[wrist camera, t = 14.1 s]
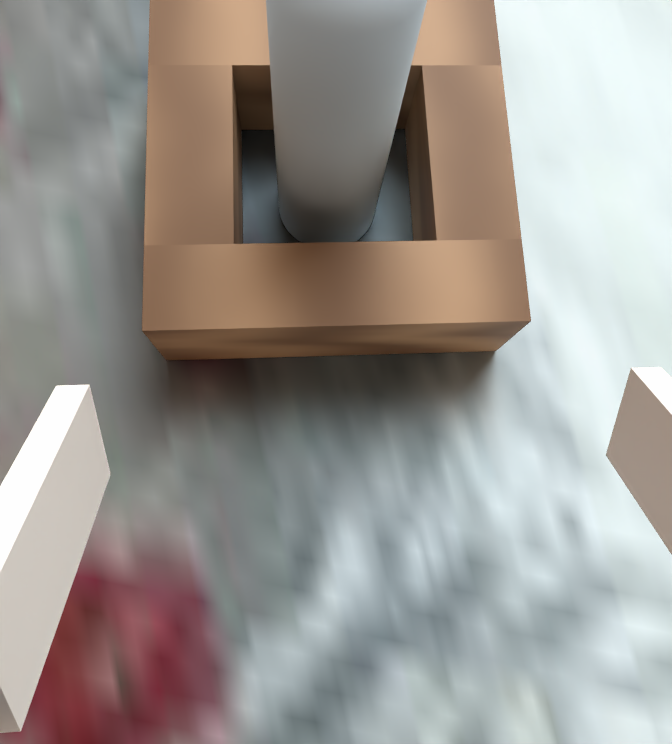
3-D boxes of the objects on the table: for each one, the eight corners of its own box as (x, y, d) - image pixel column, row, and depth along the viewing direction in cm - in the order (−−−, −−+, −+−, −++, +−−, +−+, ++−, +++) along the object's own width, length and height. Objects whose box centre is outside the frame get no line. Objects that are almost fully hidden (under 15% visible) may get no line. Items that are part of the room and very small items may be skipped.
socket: (466, 68, 29) (493, -3, 25) (495, 351, 26) (530, 320, 22) (170, 68, 28) (149, -6, 24) (166, 360, 25) (141, 330, 21)
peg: (392, 193, 27) (463, -54, 15) (341, 267, 26) (376, 65, 15) (312, 145, 27) (323, -133, 16) (259, 217, 27) (229, -21, 15)
